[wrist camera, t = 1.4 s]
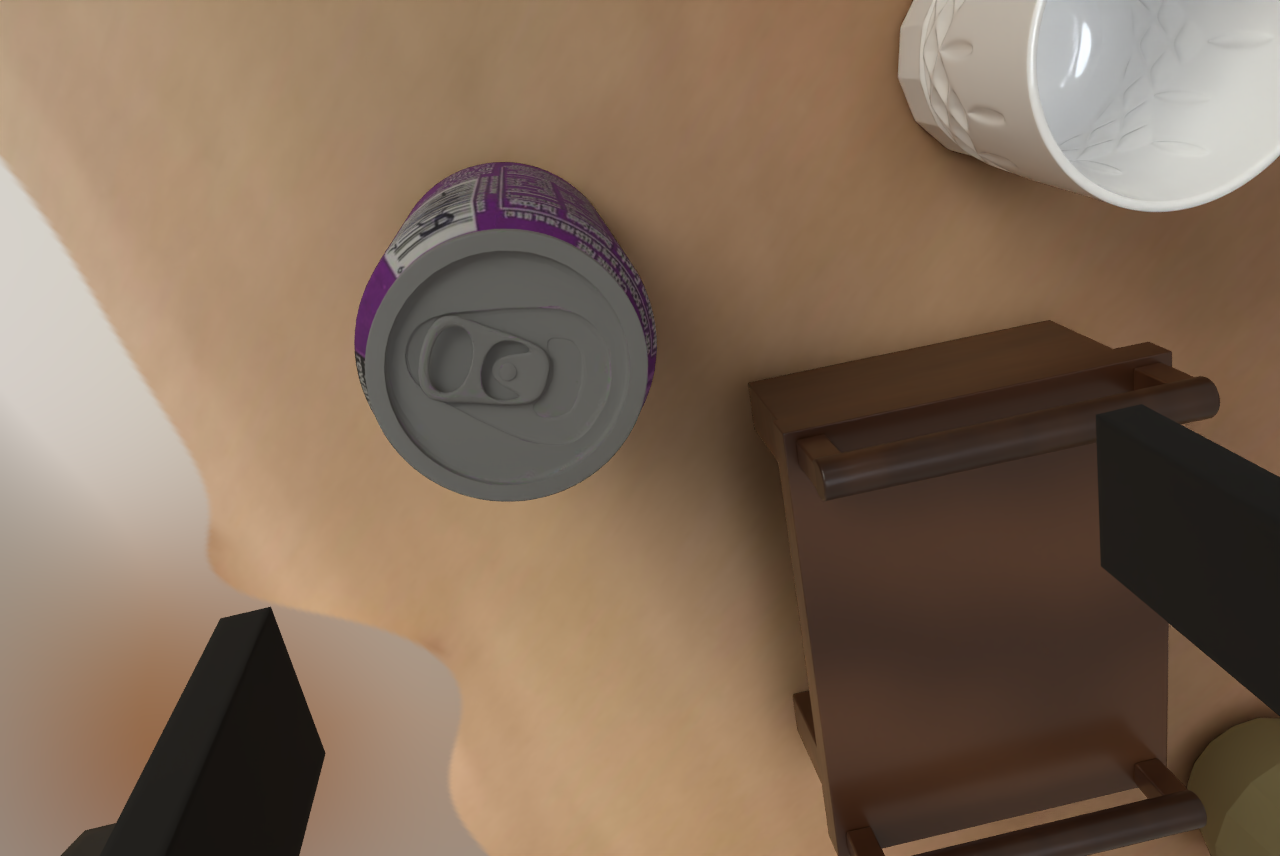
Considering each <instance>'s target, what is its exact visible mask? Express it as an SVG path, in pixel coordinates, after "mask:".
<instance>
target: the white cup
mask: <svg viewBox="0 0 1280 856" xmlns="http://www.w3.org/2000/svg"><path fill="white" fill-rule="evenodd" d="M898 79H899V82H900V84H901V87H902V89H903V92H904V94H905V97H906V100H907V102H908V105H909V107H910V110H911V112H912V115H913V117H914V120H915V121H916V122H917V123H918V124H919V125H920V126H921V127H923V128H924V129H925V130H926V131H927V132H928V133H930V134H931V135H932V136H933V137H934V138H935V139H937V140H938V141H939V142H940V143H941V144H942V145H943V146H945V147H946V148H947V149H949V150H952V151H955V152H959V153H963V154H966V155H970V156H973V157H975V158H977V159H979V160H981V161H983V162H985V163H987V164H989V165H991V166H993V167H996V168H999V169H1002V170H1004V171H1007V172H1010V173H1014V174H1016V175H1019V176H1022V177H1024V178H1027V179H1030V180H1032V181H1035V182H1038V183H1042V184H1045V185H1049V186H1052V187H1055V188H1059V189H1062V190H1066V191H1069V192H1072V193H1076V194H1079V195H1083V196H1086V197H1089V198H1092V199H1096V200H1099V201H1102V202H1106V203H1109V204H1112V205H1115V206H1118V207H1122V208H1126V209H1130V210H1136V211H1144V212H1169V211H1177V210H1183V209H1188V208H1192V207H1196V206H1199V205H1203V204H1206V203H1208V202H1211V201H1214V200H1216V199H1218V198H1220V197H1223V196H1225V195H1227V194H1229V193H1231V192H1232V191H1234V190H1236V189H1238V188H1239V187H1241V186H1243V185H1244V184H1246V183H1247V182H1249V181H1250V180H1252V179H1253V178H1254V177H1256V176H1257V175H1258V174H1260V173H1261V172H1262V171H1263V170H1264V169H1266V168H1267V167H1268V166H1269V165H1270V164H1271V163H1272V162H1273V161H1275V160H1276V159H1277V158H1278V157H1279V156H1280V0H913V2H912V4H911V6H910V8H909V11H908V13H907V15H906V17H905V19H904V21H903V23H902V25H901V28H900V45H899V65H898Z"/></svg>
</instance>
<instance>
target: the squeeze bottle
mask: <svg viewBox="0 0 1280 856" xmlns="http://www.w3.org/2000/svg"><path fill="white" fill-rule="evenodd" d="M1187 786H1188V790H1191V791H1193V792H1194V793H1195V794H1196V795H1197V796H1198V797H1199V799H1200V800H1201V802H1202V804H1203V806H1204V808H1205V811H1206V815H1207V824H1206V826H1204V827H1203V828H1200V831H1201V833H1202V835H1203V838H1204V840H1205V843H1206V845H1207V847H1208V850H1209V852H1210V855H1211V856H1280V718H1256V719H1253V720H1250V721H1247V722H1244V723H1241V724H1238V725H1235V726H1233V727H1231V728H1230V729H1228V730H1227V731H1226V732H1224V733H1223V734H1221V735H1220V736H1219V737H1217V738H1216V739H1214V740H1213V741H1212V742H1210V744H1209V745H1208V746H1207V747H1206V749H1205V750H1204V751H1203V753H1202V754H1201V755H1200V756H1199V758H1198V759H1197V760H1196V762H1195V763H1194V766H1193V769H1192V772H1191V775H1190V778H1189V781H1188V784H1187Z"/></svg>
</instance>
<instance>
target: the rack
mask: <svg viewBox="0 0 1280 856" xmlns="http://www.w3.org/2000/svg"><path fill="white" fill-rule="evenodd" d="M748 388H749V395H750V402H751V409H752V416H753V423H754V429H755V430H756V432H757V433H758V435H759V436H760V437H761V439H762V440H763V442H764V443H765V445H766V446H767V447H768V449H769V450H770V452H771V453H772V454H773V456H774V457H775V459H776V460H777V462H778V464H779V472H780V479H781V486H782V494H783V501H784V509H785V516H786V523H787V531H788V538H789V545H790V553H791V560H792V568H793V575H794V582H795V590H796V597H797V604H798V612H799V619H800V626H801V634H802V641H803V649H804V656H805V663H806V671H807V678H808V685H809V691H805V692H801V693H796V694H793V701H794V708H795V715H796V722H797V729H798V732H799V734H800V736H801V739H802V741H803V743H804V745H805V748H806V750H807V752H808V754H809V757H810V759H811V761H812V763H813V765H814V768H815V770H816V772H817V774H818V777H819V779H820V781H821V783H822V789H823V796H824V803H825V811H826V818H827V825H828V833H829V837H830V839H831V841H832V844H833V846H834V848H835V851H836V853H837V855H838V856H885V855H884V853H883V851H882V848H886V847H890V846H894V845H899V844H903V843H907V842H911V841H915V840H920V839H924V838H928V837H932V836H936V835H940V834H945V833H949V832H953V831H957V830H961V829H966V828H970V827H974V826H978V825H982V824H987V823H991V822H995V821H999V820H1003V819H1008V818H1012V817H1016V816H1020V815H1024V814H1028V813H1033V812H1037V811H1041V810H1045V809H1049V808H1054V807H1058V806H1062V805H1066V804H1070V803H1075V802H1079V801H1083V800H1087V799H1091V798H1096V797H1100V796H1104V795H1108V794H1112V793H1116V792H1121V791H1125V790H1129V789H1133V788H1137V787H1138V788H1139V789H1140V790H1141V791H1142V792H1143V793H1144V794H1145V795H1146V797H1147V798H1148V799H1146V800H1142V801H1138V802H1134V803H1130V804H1126V805H1121V806H1117V807H1113V808H1109V809H1105V810H1101V811H1096V812H1092V813H1088V814H1084V815H1080V816H1075V817H1071V818H1067V819H1063V820H1059V821H1055V822H1050V823H1046V824H1042V825H1038V826H1034V827H1030V828H1025V829H1021V830H1017V831H1013V832H1009V833H1005V834H1000V835H996V836H992V837H988V838H984V839H979V840H975V841H971V842H967V843H963V844H959V845H954V846H950V847H946V848H942V849H938V850H934V851H929V852H925V853H921V854H917V855H913V856H1087V855H1092V854H1096V853H1100V852H1104V851H1108V850H1112V849H1116V848H1120V847H1125V846H1129V845H1133V844H1137V843H1141V842H1145V841H1149V840H1154V839H1158V838H1162V837H1166V836H1170V835H1174V834H1178V833H1182V832H1187V831H1191V830H1195V829H1199V828H1203V827H1204V826H1206V824H1207V815H1206V811H1205V808H1204V806H1203V804H1202V802H1201V800H1200V799H1199V797H1198V796H1197V795H1196V794H1195V793H1194V792H1193V791H1191V790H1188V789H1187V788H1186V787H1185V786H1184V785H1183V784H1182V783H1181V782H1180V781H1179V780H1178V779H1177V778H1176V777H1175V775H1174V774H1173V773H1172V772H1171V771H1170V770H1169V769H1168V768H1167V706H1168V627H1169V623H1168V622H1167V621H1166V620H1164V619H1163V618H1162V617H1161V616H1160V615H1158V614H1157V613H1156V612H1155V611H1154V610H1152V609H1151V608H1150V607H1149V606H1148V605H1147V604H1145V603H1144V602H1143V601H1142V600H1141V599H1139V598H1138V597H1137V596H1136V595H1135V594H1133V593H1132V592H1131V591H1130V590H1129V589H1127V588H1126V587H1125V586H1124V585H1123V584H1121V583H1120V582H1119V581H1118V580H1117V579H1115V578H1114V577H1113V576H1112V575H1111V574H1110V573H1108V572H1107V571H1106V570H1105V569H1104V568H1102V567H1101V559H1100V529H1099V499H1098V470H1097V440H1096V414H1101V413H1105V412H1109V411H1114V410H1118V409H1122V408H1127V407H1131V406H1135V405H1139V404H1143V405H1144V406H1146V407H1148V408H1150V409H1152V410H1154V411H1156V412H1158V413H1160V414H1161V415H1163V416H1165V417H1167V418H1169V419H1171V420H1173V421H1175V422H1176V423H1178V424H1185V423H1189V422H1194V421H1199V420H1203V419H1208V418H1212V417H1213V416H1215V415H1216V414H1217V412H1218V410H1219V406H1220V398H1219V394H1218V391H1217V388H1216V386H1215V385H1214V383H1213V382H1212V381H1211V380H1210V379H1208V378H1206V377H1202V376H1199V377H1193V376H1190V375H1188V374H1186V373H1184V372H1181V371H1179V370H1177V369H1175V368H1172V352H1171V351H1169V350H1167V349H1165V348H1162V347H1160V346H1157V345H1155V344H1153V343H1150V342H1145V343H1140V344H1135V345H1131V346H1126V347H1121V348H1116V349H1112V348H1110V347H1107V346H1105V345H1103V344H1101V343H1099V342H1096V341H1094V340H1092V339H1090V338H1088V337H1086V336H1083V335H1081V334H1079V333H1077V332H1075V331H1072V330H1070V329H1068V328H1066V327H1064V326H1061V325H1059V324H1057V323H1055V322H1053V321H1051V320H1048V321H1043V322H1039V323H1034V324H1029V325H1024V326H1019V327H1015V328H1010V329H1005V330H1000V331H995V332H991V333H986V334H981V335H976V336H971V337H966V338H962V339H957V340H952V341H947V342H942V343H938V344H933V345H928V346H923V347H918V348H914V349H909V350H904V351H899V352H894V353H889V354H885V355H880V356H875V357H870V358H865V359H861V360H856V361H851V362H846V363H841V364H837V365H832V366H827V367H822V368H817V369H812V370H808V371H803V372H798V373H793V374H788V375H784V376H779V377H774V378H769V379H764V380H760V381H755V382H750V383H748Z"/></svg>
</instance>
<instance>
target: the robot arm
mask: <svg viewBox="0 0 1280 856" xmlns="http://www.w3.org/2000/svg"><path fill="white" fill-rule="evenodd" d="M1096 440H1097V470H1098V499H1099V529H1100V559H1101V567H1102V568H1104V569H1105V570H1106V571H1107V572H1108V573H1110V574H1111V575H1112V576H1113V577H1114V578H1115V579H1117V580H1118V581H1119V582H1120V583H1121V584H1123V585H1124V586H1125V587H1126V588H1127V589H1129V590H1130V591H1131V592H1132V593H1133V594H1135V595H1136V596H1137V597H1138V598H1139V599H1141V600H1142V601H1143V602H1144V603H1145V604H1147V605H1148V606H1149V607H1150V608H1151V609H1152V610H1154V611H1155V612H1156V613H1157V614H1158V615H1160V616H1161V617H1162V618H1163V619H1164V620H1166V621H1167V622H1168V623H1169V624H1170V625H1172V626H1173V627H1174V628H1175V629H1176V630H1178V631H1179V632H1180V633H1181V634H1182V635H1184V636H1185V637H1186V638H1187V639H1188V640H1189V641H1191V642H1192V643H1193V644H1194V645H1195V646H1197V647H1198V648H1199V649H1200V650H1201V651H1203V652H1204V653H1205V654H1206V655H1207V656H1209V657H1210V658H1211V659H1212V660H1213V661H1215V662H1216V663H1217V664H1218V665H1219V666H1221V667H1222V668H1223V669H1224V670H1225V671H1227V672H1228V673H1229V674H1230V675H1231V676H1232V677H1234V678H1235V679H1236V680H1237V681H1238V682H1240V683H1241V684H1242V685H1243V686H1244V687H1246V688H1247V689H1248V690H1249V691H1250V692H1252V693H1253V694H1254V695H1255V696H1256V697H1258V698H1259V699H1260V700H1261V701H1262V702H1264V703H1265V704H1266V705H1267V706H1268V707H1269V708H1271V709H1272V710H1273V711H1274V712H1275V713H1277V714H1278V715H1279V716H1280V477H1278V476H1276V475H1274V474H1273V473H1271V472H1269V471H1267V470H1265V469H1263V468H1261V467H1259V466H1258V465H1256V464H1254V463H1252V462H1250V461H1248V460H1246V459H1244V458H1242V457H1241V456H1239V455H1237V454H1235V453H1233V452H1231V451H1229V450H1227V449H1225V448H1224V447H1222V446H1220V445H1218V444H1216V443H1214V442H1212V441H1210V440H1209V439H1207V438H1205V437H1203V436H1201V435H1199V434H1197V433H1195V432H1193V431H1192V430H1190V429H1188V428H1186V427H1184V426H1182V425H1180V424H1178V423H1176V422H1175V421H1173V420H1171V419H1169V418H1167V417H1165V416H1163V415H1161V414H1160V413H1158V412H1156V411H1154V410H1152V409H1150V408H1148V407H1146V406H1144V405H1143V404H1139V405H1135V406H1131V407H1127V408H1122V409H1118V410H1114V411H1109V412H1105V413H1101V414H1096ZM324 757H325V751H324V748H323V745H322V743H321V740H320V737H319V735H318V732H317V729H316V727H315V724H314V722H313V719H312V716H311V713H310V711H309V708H308V705H307V703H306V700H305V697H304V695H303V692H302V689H301V686H300V684H299V681H298V679H297V676H296V673H295V671H294V668H293V665H292V662H291V660H290V657H289V654H288V652H287V649H286V646H285V644H284V641H283V638H282V636H281V633H280V630H279V627H278V625H277V622H276V620H275V617H274V614H273V611H272V609H271V607H268V608H264V609H259V610H255V611H251V612H247V613H242V614H238V615H234V616H230V617H225V618H221V619H220V620H219V622H218V624H217V626H216V628H215V630H214V632H213V634H212V636H211V638H210V640H209V642H208V644H207V646H206V648H205V650H204V652H203V654H202V656H201V658H200V660H199V662H198V664H197V666H196V667H195V669H194V672H193V673H192V676H191V677H190V679H189V681H188V683H187V685H186V687H185V689H184V691H183V693H182V695H181V697H180V699H179V701H178V703H177V705H176V707H175V709H174V711H173V713H172V715H171V717H170V719H169V721H168V722H167V725H166V727H165V729H164V730H163V733H162V734H161V736H160V738H159V740H158V742H157V744H156V746H155V748H154V750H153V752H152V754H151V756H150V758H149V760H148V762H147V764H146V766H145V768H144V770H143V772H142V774H141V776H140V778H139V780H138V782H137V784H136V786H135V787H134V789H133V791H132V793H131V795H130V797H129V799H128V801H127V803H126V805H125V807H124V809H123V811H122V813H121V815H120V817H119V819H118V821H117V823H114V824H111V825H106V826H102V827H98V828H94V829H90V830H85V831H84V832H83V833H82V834H81V835H80V836H79V837H78V838H77V839H76V840H75V841H74V843H72V844H71V846H69V848H68V849H67V850H66V851H65V852H64V853H63V854H62V855H61V856H299V854H300V850H301V846H302V842H303V839H304V835H305V831H306V826H307V823H308V819H309V815H310V811H311V807H312V803H313V800H314V796H315V792H316V788H317V784H318V780H319V776H320V772H321V768H322V765H323V761H324Z"/></svg>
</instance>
